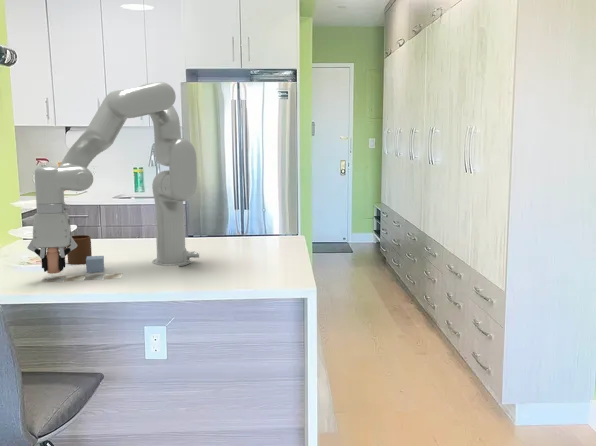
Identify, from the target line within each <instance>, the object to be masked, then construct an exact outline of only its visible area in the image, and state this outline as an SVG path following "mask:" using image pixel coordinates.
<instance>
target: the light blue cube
mask: <svg viewBox="0 0 596 446" xmlns="http://www.w3.org/2000/svg"><path fill="white" fill-rule="evenodd" d="M85 268H86V270H85V271H86V273H87V274H88V273H104V272H105V271H104V269H105V257H104V255H92V256H87V258H86V264H85Z"/></svg>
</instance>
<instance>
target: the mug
mask: <svg viewBox="0 0 596 446" xmlns="http://www.w3.org/2000/svg"><path fill="white" fill-rule="evenodd" d="M71 236H72V238H73V240H74V241H75V242H76V244H77V247H76V248H75V249H73V250H72V251H70V252H69V253H68V254H67V255H66V256H67V264H68V265H75V266H76V265H86V258H87V256H93V255H92V240H91V236H90V235H88V234H87V235H86V234H79V235H71ZM70 246H71V244H70V245H69V246H67V247H65V250H66V249H67V248H68V247H70ZM58 249H59V248H58Z"/></svg>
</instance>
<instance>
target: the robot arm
mask: <svg viewBox="0 0 596 446" xmlns="http://www.w3.org/2000/svg"><path fill="white" fill-rule="evenodd" d="M176 97H177V95H176V92H175V90H174V88H173V87H172V86H171V85H170V84H168V83H167V82H162V81H158V82H151V83H150V82H149V83H145V84H141V85H139V86H138V87H133V88H128V89H120V90H118V89H117V90H114V91H110V92H109V93H108V94H106V96H105V98H103V100H102V102H101V104H100V106H99V107H98V109H97V111H96V113H95V115H94V116H93V117H92V118H91V121H90V123H89V124H88V126H87V128H86V130H85V131H84V132H83V133H82V134H81V135H80V136H79V137H78V138H77V140H76V141H75V142H74V143H73V144H72V146H71V147H70V148H69V149H68V151H67V152H66V153H65V156H64V157H63V159H62V161H61V162H60V165H59V166H50V165H48V166H39V167H36V168H35V169H34V185H35V202H36V203H35V204H36V213H34V215H33V222H32V224H33V225H32V239H31V241H30V242H29V244H28V246H27V249H28V250H29V251H31V252H34V254H36V255H37V256H38V257H39V258H40V259H41V269H43V270H44V271H43V272H44V273H45V272H47V255H46V253H47V248H59V252H60V258H59V271H61V272H62V271H64V268H66V256H67V254H68V253H69V252H70V251H72V250H73V249H75V248H76V247H77V244H76V242H75V241H74V240H73V238H72V236H73V235H72V228H71V222H70V221H71V220H70V216H69V213H68V212H66V211H68V210H71V205H70V204H67V203H65V191H72V192H83V191H86V190H88V189H90V188H91V186H92V185H93V183H94V175H93V173H92V171H91V170H90V169H88V167H89V165H90V164H91V162H92V161H93V160H95V158H96V157H97V156H99V154H101V153H103V152H105V151H107V149H109V148H110V147H111V146H112V145H113V144H114V142H115V141H116V139H117V138H118V135H119V133H120V132H121V130H122V128H123V126H124V125H125V123H126V121H127V120H128V119H135V118H139V117H144V116H148V115H149V116H150V119H151V120H152V124H153V134H154V157H155V160H156V161H157V163H159V165H161V166H164V167H168V168H169V169H167V170H163V171H160V172H158V173H157V174H156V175H155V176H154V178H153V180H152V184H151V185H152V186H151V187H152V189H151V190H152V194H153V198H154V199H153V200H154V206H155V232H156V233H155V234H156V258H154V259H153V260H152V262H151V263H152V264H154V265H157V266H163V267H164V266H166V267H167V266H170V267H171V266H179V267H183V266H188V265H189V264H190V263H191V258H192V259H199V258H200V251H189V250H188V251H187V247H186V224H185V223H186V222H185V221H186V220H185V217H186V216H185V215H186V213H185V206H184V202H188V201H190V200H191V199H193V197H194V196H195V194H196V192H197V188H198V174H197V173H198V171H197V170H198V169H197V168H198V166H197V163H198V161H197V153H196V149H195V147H194V145H193V143H192V142H191V141H190V140H188V139H186V138H184V137H183V138H182V134H181V133H182V132H181V124H180V116H179V115H178V112H177V110H176V108H175V107H174V104H175V102H176ZM70 244H71V246H70V247H68V248H67V249H66V250H65V247H67V246H69V245H70Z"/></svg>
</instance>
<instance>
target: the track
mask: <svg viewBox="0 0 596 446" xmlns="http://www.w3.org/2000/svg"><path fill="white" fill-rule="evenodd" d="M112 279H113V280H115V279H118V280H120V279H123V273H121V272H119V273H116V272H115V273H105V274H104V273H100V274H80V275H79V274H76V275H61V276H60V275H59V276H58V275H57V276H47V277H46V278H45V280H44V281H43V283H55V282H57V283H58V282H75V281H76V282H77V281H94V280H95V281H96V280H112Z"/></svg>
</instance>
